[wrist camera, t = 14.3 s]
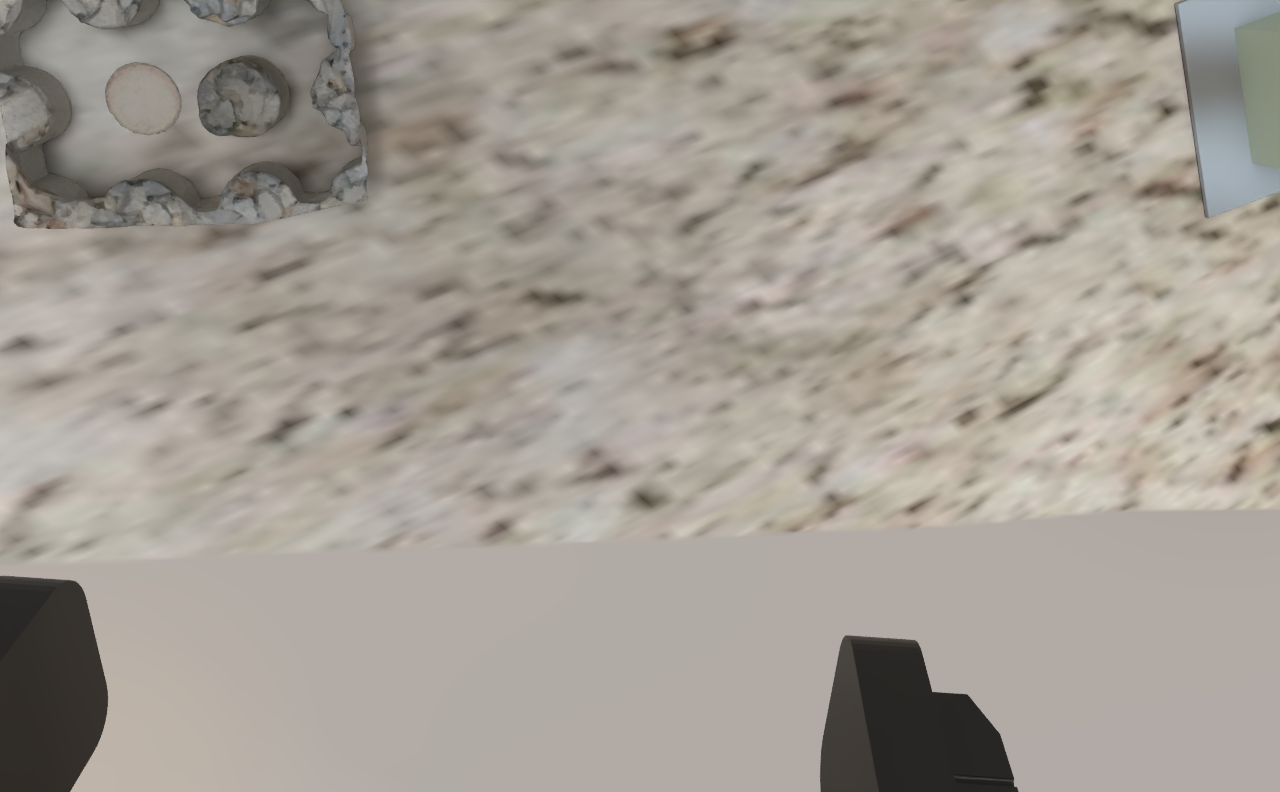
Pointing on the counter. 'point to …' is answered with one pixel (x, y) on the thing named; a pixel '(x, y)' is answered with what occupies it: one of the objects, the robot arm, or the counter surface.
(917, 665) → the robot arm
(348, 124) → the grey scalloped block
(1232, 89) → the dock
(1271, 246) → the counter surface
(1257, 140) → the green block
